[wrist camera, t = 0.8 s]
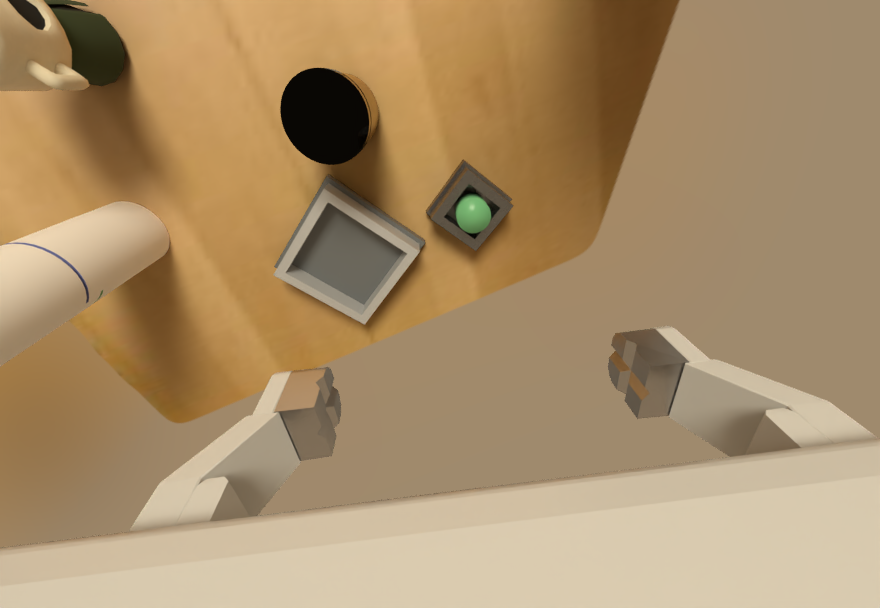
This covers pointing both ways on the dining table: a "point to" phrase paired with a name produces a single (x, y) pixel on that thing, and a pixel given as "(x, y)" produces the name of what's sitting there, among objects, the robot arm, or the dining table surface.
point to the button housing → (458, 186)
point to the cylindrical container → (72, 269)
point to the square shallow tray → (347, 251)
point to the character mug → (56, 47)
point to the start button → (472, 213)
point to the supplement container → (328, 114)
